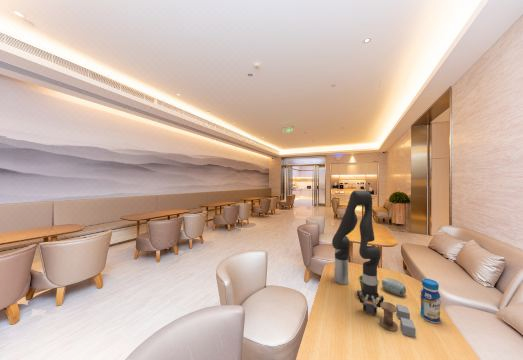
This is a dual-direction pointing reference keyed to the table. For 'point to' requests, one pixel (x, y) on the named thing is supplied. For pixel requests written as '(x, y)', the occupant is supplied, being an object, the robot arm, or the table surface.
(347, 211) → the robot arm
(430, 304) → the beverage bottle
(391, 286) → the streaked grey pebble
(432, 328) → the table surface
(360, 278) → the plant pot
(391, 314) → the bobbin
